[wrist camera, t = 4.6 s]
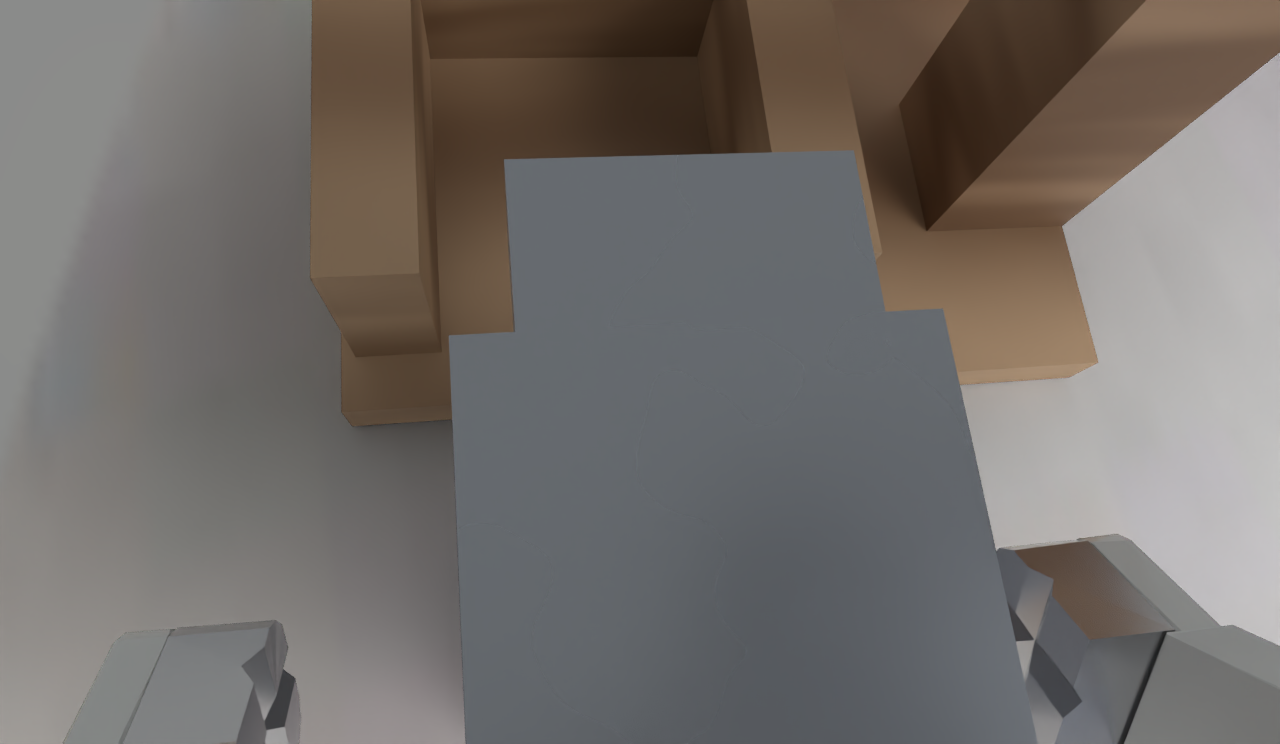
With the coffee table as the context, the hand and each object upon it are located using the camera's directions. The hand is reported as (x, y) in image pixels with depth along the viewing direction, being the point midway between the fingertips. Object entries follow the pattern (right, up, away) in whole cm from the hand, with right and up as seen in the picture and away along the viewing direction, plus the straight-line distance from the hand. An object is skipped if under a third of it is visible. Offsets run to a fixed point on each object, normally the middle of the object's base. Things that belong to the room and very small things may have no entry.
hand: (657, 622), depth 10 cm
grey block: (-1, -2, +6) cm, 6 cm away
